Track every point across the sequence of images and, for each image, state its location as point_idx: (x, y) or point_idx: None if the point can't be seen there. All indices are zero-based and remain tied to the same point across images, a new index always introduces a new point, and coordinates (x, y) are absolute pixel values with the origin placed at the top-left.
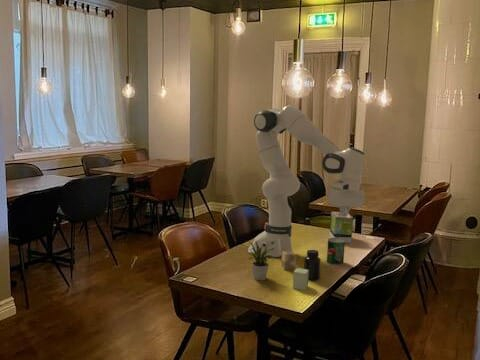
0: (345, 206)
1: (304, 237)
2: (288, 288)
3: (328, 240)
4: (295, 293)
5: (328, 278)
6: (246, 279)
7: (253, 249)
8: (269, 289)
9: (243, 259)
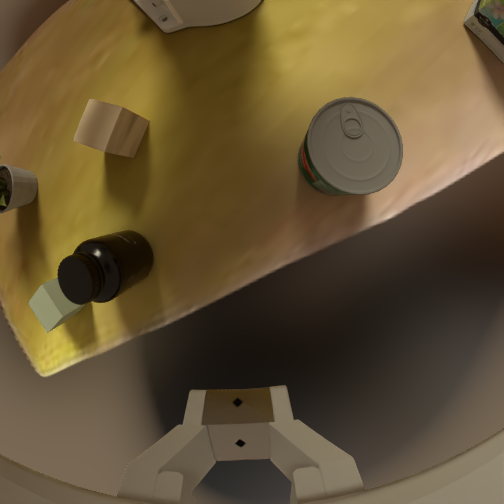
0: (296, 492)
1: None
2: None
3: (311, 122)
4: None
5: (179, 285)
6: None
7: None
8: (20, 265)
9: (77, 36)
